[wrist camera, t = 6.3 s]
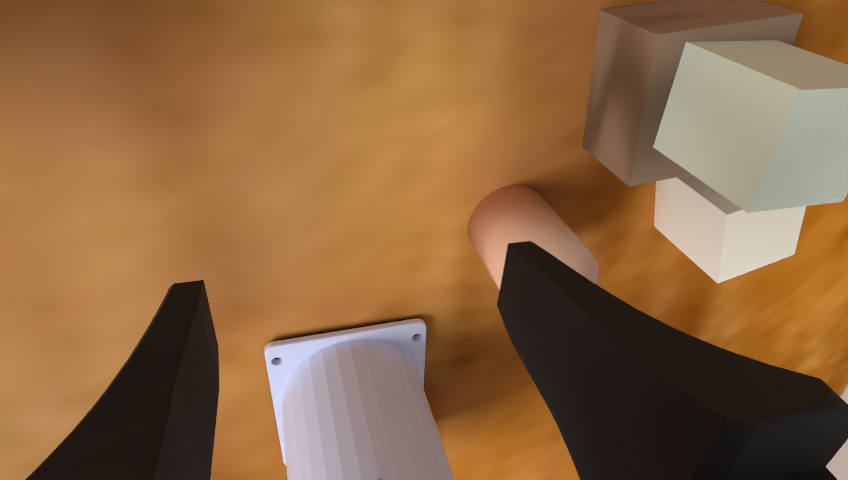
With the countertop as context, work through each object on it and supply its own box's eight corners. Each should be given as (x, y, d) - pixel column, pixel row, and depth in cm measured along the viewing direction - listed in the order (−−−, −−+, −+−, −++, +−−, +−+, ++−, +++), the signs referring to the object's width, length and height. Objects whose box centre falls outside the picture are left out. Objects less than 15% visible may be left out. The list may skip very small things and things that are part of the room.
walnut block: (694, 124, 27) (755, 161, 24) (580, 145, 26) (628, 186, 23) (727, -9, 23) (803, 13, 20) (597, 8, 22) (656, 34, 19)
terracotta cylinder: (539, 250, 29) (588, 315, 25) (464, 260, 28) (503, 329, 24) (552, 181, 26) (608, 239, 22) (471, 189, 25) (515, 252, 21)
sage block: (736, 140, 23) (842, 201, 19) (652, 147, 22) (747, 213, 18) (776, 40, 21) (906, 85, 17) (685, 41, 20) (801, 90, 16)
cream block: (721, 201, 30) (794, 254, 26) (653, 226, 30) (717, 283, 26) (729, 136, 28) (811, 183, 24) (656, 162, 27) (727, 214, 23)
